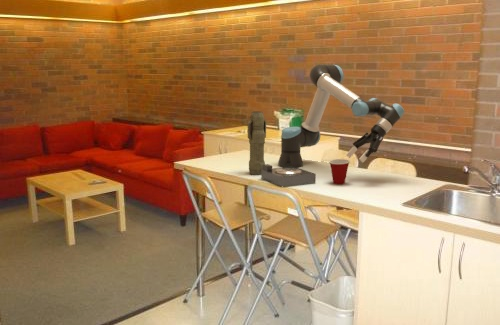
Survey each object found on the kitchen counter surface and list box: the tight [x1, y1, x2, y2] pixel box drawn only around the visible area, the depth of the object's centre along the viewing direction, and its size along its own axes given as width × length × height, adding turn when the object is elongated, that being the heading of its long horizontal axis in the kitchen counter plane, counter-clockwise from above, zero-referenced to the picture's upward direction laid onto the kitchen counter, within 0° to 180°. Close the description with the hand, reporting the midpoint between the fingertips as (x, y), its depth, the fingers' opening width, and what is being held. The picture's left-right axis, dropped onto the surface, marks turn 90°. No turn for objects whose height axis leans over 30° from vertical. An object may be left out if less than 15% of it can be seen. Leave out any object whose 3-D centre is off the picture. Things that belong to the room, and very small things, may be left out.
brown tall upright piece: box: [247, 110, 267, 176], centre depth 273 cm, size 9×12×35 cm
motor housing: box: [260, 163, 317, 188], centre depth 257 cm, size 22×20×8 cm
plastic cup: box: [328, 158, 351, 185], centre depth 252 cm, size 11×11×12 cm
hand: (354, 158), depth 252 cm, fingers open, 13 cm apart
